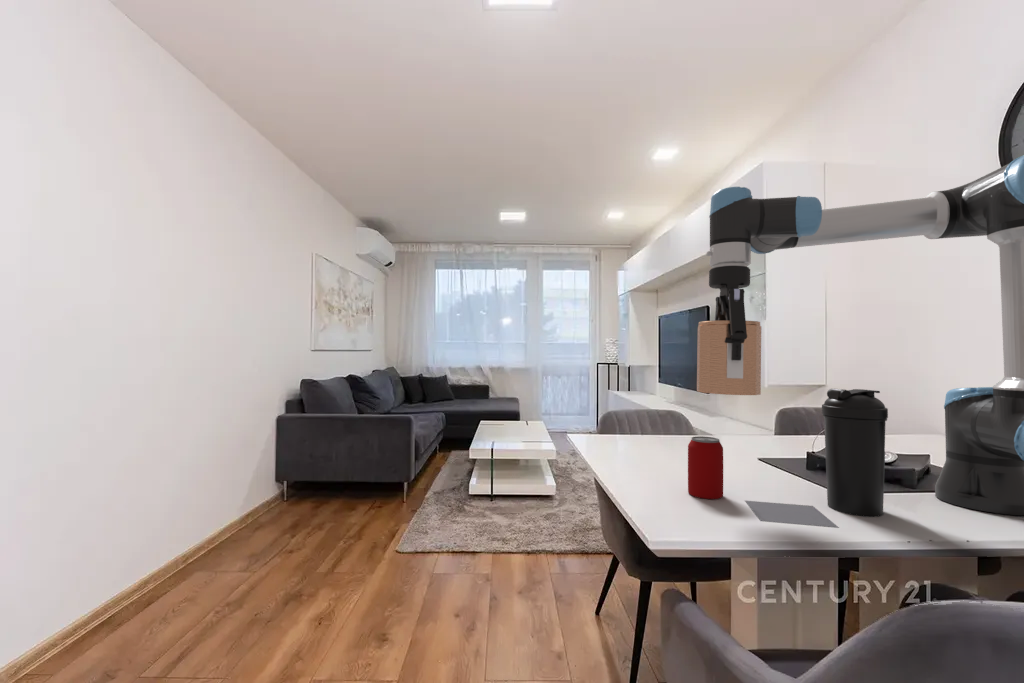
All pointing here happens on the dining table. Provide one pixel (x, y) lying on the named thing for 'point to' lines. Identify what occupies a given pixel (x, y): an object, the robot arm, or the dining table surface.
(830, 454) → the water bottle
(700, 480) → the beverage can
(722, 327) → the copper oval canister
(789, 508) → the mat
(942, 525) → the dining table surface
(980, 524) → the dining table surface
